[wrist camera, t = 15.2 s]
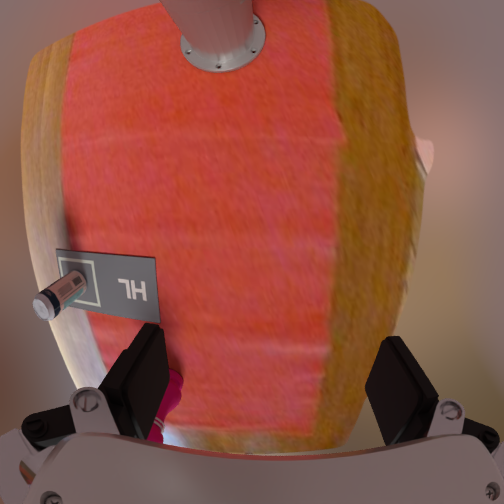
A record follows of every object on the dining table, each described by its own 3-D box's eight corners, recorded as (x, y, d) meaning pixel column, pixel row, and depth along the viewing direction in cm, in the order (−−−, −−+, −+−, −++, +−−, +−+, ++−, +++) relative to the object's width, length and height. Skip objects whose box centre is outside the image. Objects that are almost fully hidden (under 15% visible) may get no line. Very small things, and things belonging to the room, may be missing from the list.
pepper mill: (148, 379, 50) (114, 451, 31) (159, 359, 48) (122, 437, 29) (178, 395, 51) (153, 470, 32) (191, 377, 49) (166, 458, 30)
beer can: (68, 267, 43) (28, 292, 32) (87, 272, 43) (48, 300, 32) (70, 289, 44) (34, 318, 33) (89, 295, 44) (53, 327, 33)
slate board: (56, 249, 42) (55, 249, 42) (155, 258, 42) (154, 258, 42) (66, 305, 46) (66, 305, 46) (160, 322, 45) (160, 323, 45)
